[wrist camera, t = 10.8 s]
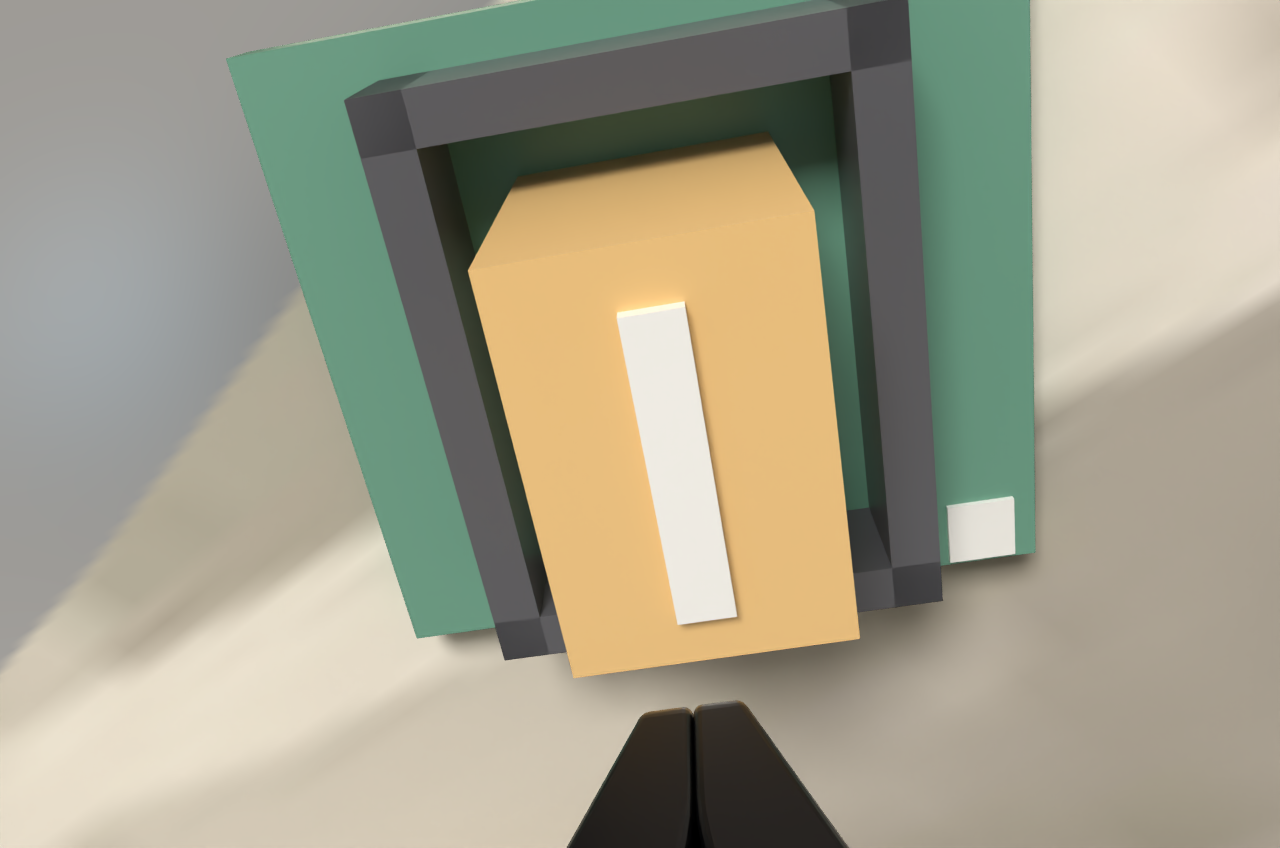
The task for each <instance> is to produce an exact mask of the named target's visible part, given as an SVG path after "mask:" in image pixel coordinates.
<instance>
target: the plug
mask: <svg viewBox="0 0 1280 848" xmlns="http://www.w3.org/2000/svg"><path fill="white" fill-rule="evenodd" d="M468 273H469V277H470V281H471V285H472V288H473V292H474V296H475V300H476V304H477V308H478V312H479V315H480V319H481V323H482V327H483V331H484V335H485V338H486V342H487V346H488V350H489V354H490V358H491V362H492V365H493V369H494V373H495V377H496V381H497V385H498V389H499V392H500V396H501V400H502V404H503V408H504V412H505V416H506V419H507V423H508V427H509V431H510V435H511V439H512V442H513V446H514V450H515V454H516V458H517V462H518V466H519V469H520V473H521V477H522V481H523V485H524V489H525V493H526V496H527V500H528V504H529V508H530V512H531V516H532V520H533V523H534V527H535V531H536V535H537V539H538V543H539V546H540V550H541V554H542V558H543V562H544V566H545V570H546V573H547V577H548V581H549V585H550V589H551V593H552V597H553V600H554V604H555V608H556V612H557V616H558V620H559V623H560V627H561V631H562V635H563V639H564V643H565V647H566V650H567V654H568V658H569V662H570V666H571V670H572V674H573V677H574V678H579V677H586V676H593V675H601V674H608V673H615V672H622V671H630V670H637V669H644V668H652V667H659V666H666V665H673V664H681V663H688V662H695V661H702V660H710V659H717V658H724V657H732V656H739V655H746V654H753V653H761V652H768V651H775V650H782V649H790V648H797V647H804V646H811V645H819V644H826V643H833V642H841V641H848V640H855V639H860V634H859V625H858V615H857V606H856V596H855V587H854V578H853V568H852V559H851V549H850V540H849V531H848V521H847V512H846V503H845V493H844V484H843V474H842V465H841V456H840V446H839V437H838V428H837V418H836V409H835V399H834V390H833V381H832V371H831V362H830V352H829V343H828V334H827V324H826V315H825V306H824V296H823V287H822V277H821V268H820V259H819V249H818V240H817V231H816V221H815V212H814V209H813V208H812V206H811V204H810V202H809V201H808V199H807V197H806V196H805V194H804V192H803V190H802V189H801V187H800V185H799V184H798V182H797V180H796V178H795V177H794V175H793V173H792V172H791V170H790V168H789V167H788V165H787V163H786V161H785V160H784V158H783V156H782V155H781V153H780V151H779V149H778V148H777V146H776V144H775V143H774V141H773V139H772V138H771V136H770V134H769V132H763V133H757V134H752V135H746V136H740V137H735V138H729V139H724V140H718V141H713V142H707V143H701V144H696V145H690V146H685V147H679V148H674V149H668V150H663V151H657V152H651V153H646V154H640V155H635V156H629V157H624V158H618V159H612V160H607V161H601V162H596V163H590V164H585V165H579V166H574V167H568V168H562V169H557V170H551V171H546V172H540V173H535V174H529V175H523V176H518V177H517V179H516V181H515V183H514V184H513V186H512V188H511V190H510V192H509V194H508V196H507V198H506V200H505V201H504V203H503V205H502V207H501V209H500V211H499V213H498V215H497V217H496V218H495V220H494V222H493V224H492V226H491V228H490V230H489V232H488V234H487V235H486V237H485V239H484V241H483V243H482V245H481V247H480V249H479V251H478V252H477V254H476V256H475V258H474V260H473V262H472V264H471V266H470V268H469V269H468Z"/></svg>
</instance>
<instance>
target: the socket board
mask: <svg viewBox="0 0 1280 848" xmlns="http://www.w3.org/2000/svg"><path fill="white" fill-rule="evenodd" d="M226 61H227V63H228V67H229V70H230V72H231V75H232V79H233V82H234V85H235V88H236V91H237V94H238V97H239V100H240V103H241V106H242V109H243V112H244V114H245V118H246V121H247V124H248V127H249V130H250V133H251V136H252V139H253V142H254V145H255V148H256V151H257V155H258V158H259V160H260V164H261V167H262V170H263V172H264V176H265V179H266V182H267V185H268V188H269V191H270V194H271V197H272V200H273V203H274V206H275V209H276V212H277V215H278V218H279V221H280V224H281V227H282V230H283V233H284V236H285V239H286V242H287V245H288V249H289V252H290V255H291V258H292V261H293V264H294V267H295V270H296V273H297V276H298V279H299V282H300V285H301V288H302V291H303V294H304V297H305V300H306V303H307V306H308V309H309V312H310V315H311V318H312V321H313V324H314V327H315V331H316V334H317V337H318V340H319V343H320V346H321V349H322V352H323V355H324V358H325V361H326V364H327V367H328V370H329V373H330V376H331V379H332V382H333V385H334V388H335V391H336V394H337V397H338V400H339V403H340V406H341V409H342V412H343V415H344V418H345V422H346V425H347V428H348V431H349V434H350V437H351V440H352V443H353V446H354V449H355V452H356V455H357V458H358V461H359V464H360V467H361V470H362V473H363V476H364V479H365V482H366V485H367V488H368V491H369V494H370V497H371V500H372V503H373V506H374V509H375V513H376V516H377V519H378V522H379V525H380V528H381V531H382V534H383V537H384V540H385V543H386V546H387V549H388V552H389V555H390V558H391V561H392V564H393V567H394V570H395V573H396V576H397V579H398V582H399V585H400V588H401V591H402V594H403V597H404V601H405V604H406V607H407V610H408V613H409V616H410V619H411V622H412V625H413V628H414V631H415V634H416V637H417V638H424V637H431V636H438V635H445V634H452V633H460V632H467V631H474V630H481V629H488V628H496V632H497V635H498V638H499V642H500V645H501V649H502V652H503V656H504V659H505V660H512V659H519V658H526V657H534V656H541V655H548V654H556V653H563V652H567V650H566V647H565V643H564V639H563V635H562V631H561V627H560V623H559V620H558V616H557V612H556V608H555V604H554V600H553V597H552V593H551V589H550V585H549V581H548V577H547V573H546V570H545V566H544V562H543V558H542V554H541V550H540V546H539V543H538V539H537V535H536V531H535V527H534V523H533V520H532V516H531V512H530V508H529V504H528V500H527V496H526V493H525V489H524V485H523V481H522V477H521V473H520V469H519V466H518V462H517V458H516V454H515V450H514V446H513V442H512V439H511V435H510V431H509V427H508V423H507V419H506V416H505V412H504V408H503V404H502V400H501V396H500V392H499V389H498V385H497V381H496V377H495V373H494V369H493V365H492V362H491V358H490V354H489V350H488V346H487V342H486V338H485V335H484V331H483V327H482V323H481V319H480V315H479V312H478V308H477V304H476V300H475V296H474V292H473V288H472V285H471V281H470V277H469V273H468V269H469V268H470V266H471V264H472V262H473V260H474V258H475V256H476V254H477V252H478V251H479V249H480V247H481V245H482V243H483V241H484V239H485V237H486V235H487V234H488V232H489V230H490V228H491V226H492V224H493V222H494V220H495V218H496V217H497V215H498V213H499V211H500V209H501V207H502V205H503V203H504V201H505V200H506V198H507V196H508V194H509V192H510V190H511V188H512V186H513V184H514V183H515V181H516V179H517V177H518V176H523V175H529V174H535V173H540V172H546V171H551V170H557V169H562V168H568V167H574V166H579V165H585V164H590V163H596V162H601V161H607V160H612V159H618V158H624V157H629V156H635V155H640V154H646V153H651V152H657V151H663V150H668V149H674V148H679V147H685V146H690V145H696V144H701V143H707V142H713V141H718V140H724V139H729V138H735V137H740V136H746V135H752V134H757V133H763V132H769V134H770V136H771V138H772V139H773V141H774V143H775V144H776V146H777V148H778V149H779V151H780V153H781V155H782V156H783V158H784V160H785V161H786V163H787V165H788V167H789V168H790V170H791V172H792V173H793V175H794V177H795V178H796V180H797V182H798V184H799V185H800V187H801V189H802V190H803V192H804V194H805V196H806V197H807V199H808V201H809V202H810V204H811V206H812V208H813V209H814V212H815V221H816V231H817V240H818V249H819V259H820V268H821V277H822V287H823V296H824V306H825V315H826V324H827V334H828V343H829V352H830V362H831V371H832V381H833V390H834V399H835V409H836V418H837V428H838V437H839V446H840V456H841V465H842V474H843V484H844V493H845V503H846V512H847V521H848V531H849V540H850V549H851V559H852V568H853V578H854V587H855V596H856V606H857V612H864V611H872V610H879V609H886V608H894V607H901V606H908V605H916V604H923V603H930V602H938V601H943V597H942V580H941V566H942V565H949V564H956V563H964V562H971V561H978V560H985V559H992V558H1000V557H1007V556H1014V555H1021V554H1028V553H1035V470H1034V371H1033V272H1032V173H1031V74H1030V0H519V1H514V2H509V3H504V4H498V5H493V6H488V7H483V8H477V9H473V10H467V11H462V12H456V13H451V14H446V15H440V16H435V17H430V18H425V19H419V20H415V21H409V22H404V23H398V24H393V25H387V26H382V27H377V28H372V29H366V30H361V31H356V32H351V33H345V34H340V35H335V36H330V37H324V38H319V39H314V40H308V41H303V42H298V43H292V44H288V45H282V46H277V47H271V48H267V49H261V50H256V51H250V52H246V53H243V54H240V55H237V56H233V57H230V58H227V59H226Z"/></svg>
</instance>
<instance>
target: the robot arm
mask: <svg viewBox="0 0 1280 848" xmlns="http://www.w3.org/2000/svg"><path fill="white" fill-rule="evenodd" d="M567 848H849V847H848V846H847V844H846V843H845V842H844V840H843V839H842V837H841V836H840V835H839V833H838V832H837V830H836V829H835V828H834V826H833V825H832V824H831V822H830V821H829V819H828V818H827V817H826V815H825V814H824V812H823V811H822V810H821V808H820V807H819V805H818V804H817V803H816V801H815V800H814V798H813V797H812V796H811V794H810V793H809V792H808V790H807V789H806V787H805V786H804V785H803V783H802V782H801V780H800V779H799V778H798V776H797V775H796V773H795V772H794V771H793V769H792V768H791V766H790V765H789V764H788V762H787V761H786V759H785V758H784V757H783V755H782V754H781V753H780V751H779V750H778V748H777V747H776V746H775V744H774V743H773V741H772V740H771V739H770V737H769V736H768V734H767V733H766V732H765V730H764V729H763V727H762V726H761V725H760V723H759V722H758V721H757V719H756V718H755V716H754V715H753V714H752V712H751V711H750V709H749V708H748V707H747V706H746V705H745V704H744V703H743V702H741V701H737V700H735V701H727V702H720V703H712V704H704V705H700V706H698V707H697V708H696V709H695V711H694V715H693V713H692V712H691V710H690V709H688V708H685V707H682V708H674V709H667V710H659V711H651V712H647V713H645V714H643V715H642V716H641V717H640V719H639V720H638V722H637V724H636V725H635V727H634V729H633V731H632V733H631V734H630V736H629V738H628V740H627V741H626V743H625V745H624V747H623V749H622V750H621V752H620V754H619V756H618V757H617V759H616V761H615V763H614V765H613V766H612V768H611V770H610V772H609V773H608V775H607V777H606V779H605V781H604V782H603V784H602V786H601V788H600V789H599V791H598V793H597V795H596V797H595V798H594V800H593V802H592V804H591V805H590V807H589V809H588V811H587V813H586V814H585V816H584V818H583V820H582V821H581V823H580V825H579V827H578V829H577V830H576V832H575V834H574V836H573V837H572V839H571V841H570V843H569V845H568V846H567Z"/></svg>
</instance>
